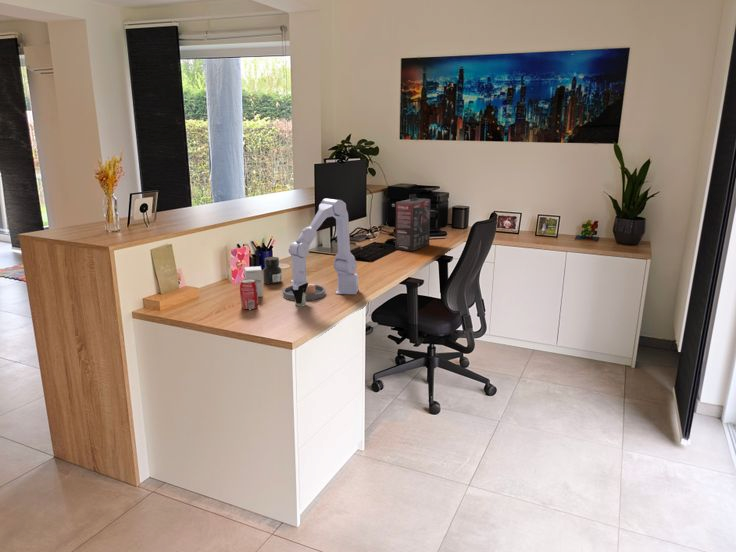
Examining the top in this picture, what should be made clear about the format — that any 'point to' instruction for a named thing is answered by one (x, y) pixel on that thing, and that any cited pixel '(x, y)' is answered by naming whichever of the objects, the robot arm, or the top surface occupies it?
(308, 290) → the terracotta bead
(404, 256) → the top surface
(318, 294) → the groove tray
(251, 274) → the supplement box
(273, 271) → the ink bottle
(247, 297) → the soda can
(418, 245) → the headset box
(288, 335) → the top surface
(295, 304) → the sage bead
